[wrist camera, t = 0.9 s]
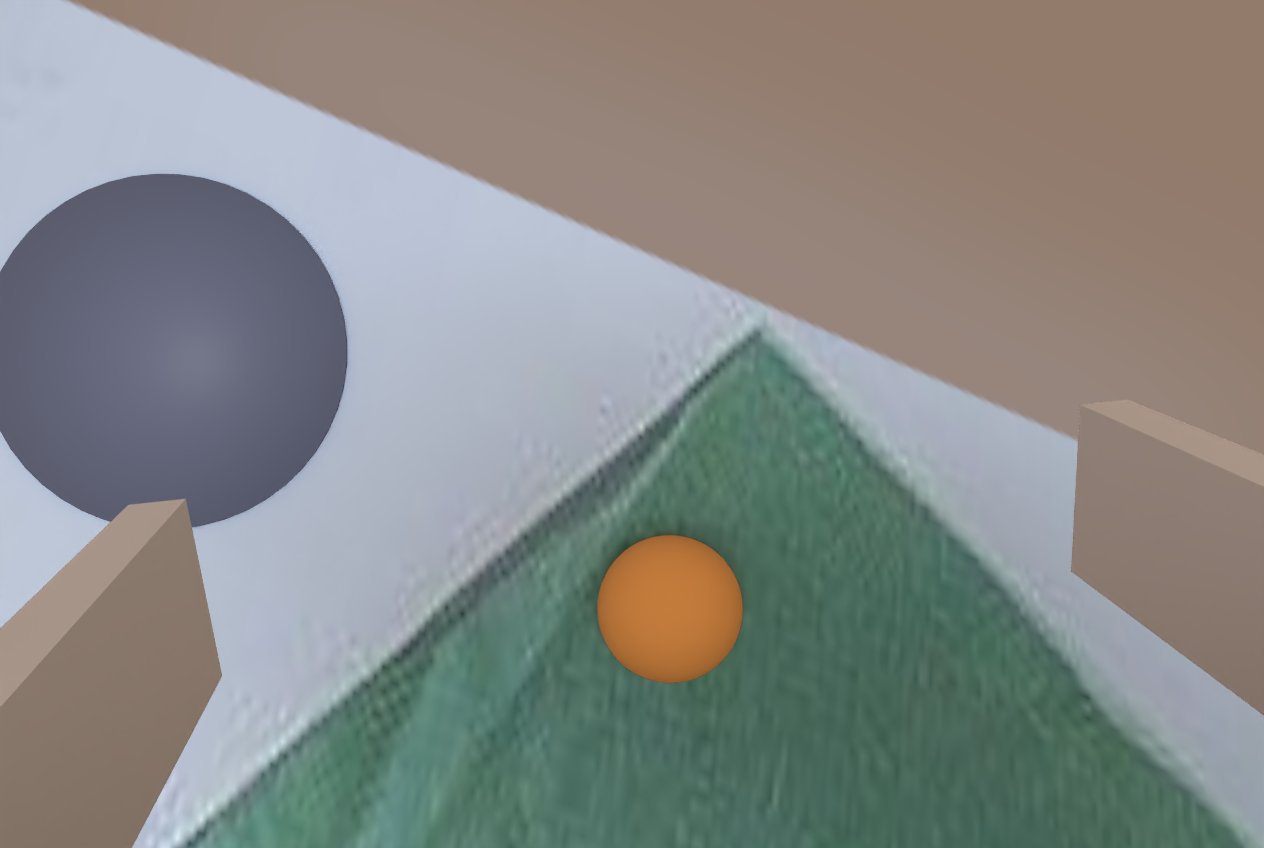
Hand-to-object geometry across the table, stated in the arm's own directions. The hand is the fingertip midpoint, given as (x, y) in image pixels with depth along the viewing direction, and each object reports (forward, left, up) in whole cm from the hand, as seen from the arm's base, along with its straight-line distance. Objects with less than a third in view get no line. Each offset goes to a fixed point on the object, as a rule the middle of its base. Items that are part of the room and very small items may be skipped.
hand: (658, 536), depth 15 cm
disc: (+18, +3, -26) cm, 32 cm away
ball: (-4, +3, -23) cm, 24 cm away
